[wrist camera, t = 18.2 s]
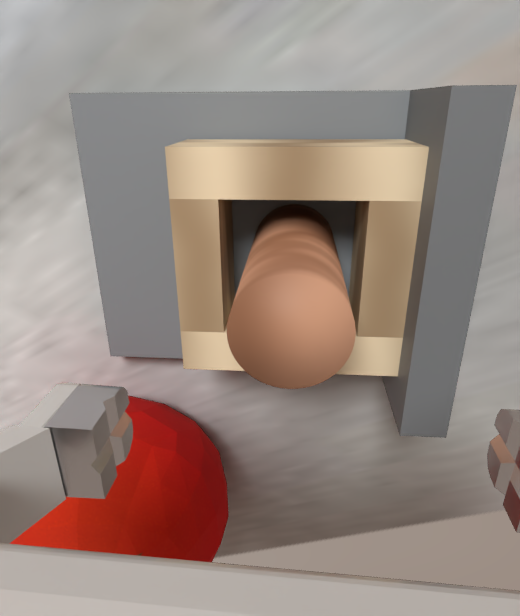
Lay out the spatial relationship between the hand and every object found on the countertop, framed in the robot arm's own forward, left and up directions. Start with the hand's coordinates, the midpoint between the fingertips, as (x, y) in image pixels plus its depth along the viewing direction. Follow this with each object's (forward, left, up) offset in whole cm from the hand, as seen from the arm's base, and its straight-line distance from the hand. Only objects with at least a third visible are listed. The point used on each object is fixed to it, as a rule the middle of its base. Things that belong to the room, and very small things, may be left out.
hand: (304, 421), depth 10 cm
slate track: (+2, 0, -16) cm, 16 cm away
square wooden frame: (0, 0, -14) cm, 14 cm away
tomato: (+10, +14, -16) cm, 24 cm away
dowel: (0, 0, -14) cm, 14 cm away
